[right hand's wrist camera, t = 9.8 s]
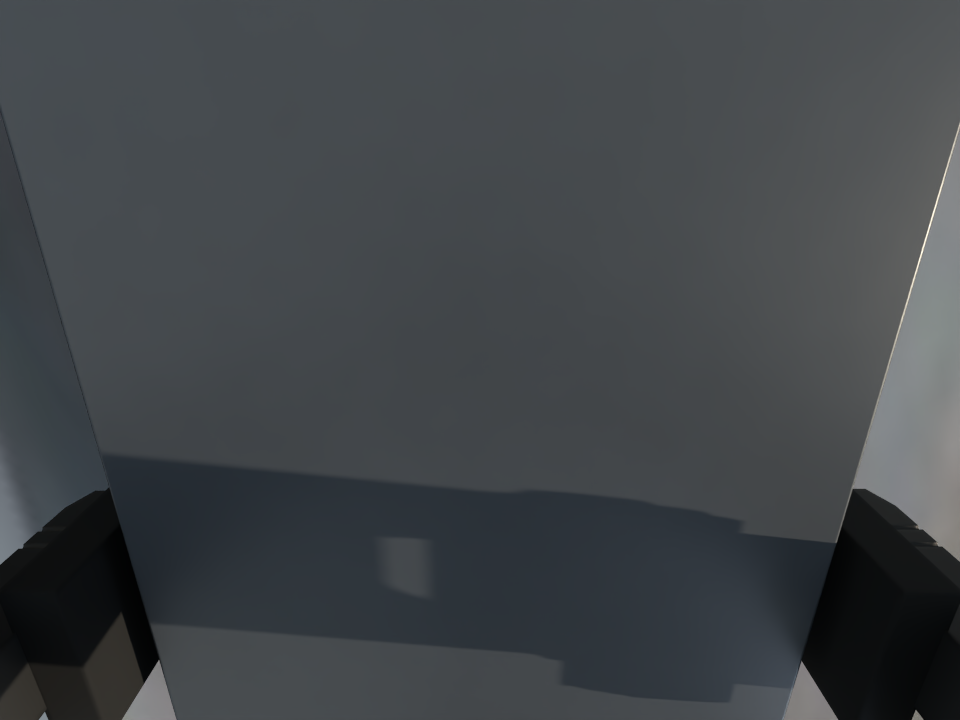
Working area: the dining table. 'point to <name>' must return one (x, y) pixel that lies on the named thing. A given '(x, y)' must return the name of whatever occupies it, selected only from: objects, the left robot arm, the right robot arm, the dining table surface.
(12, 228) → the dining table surface
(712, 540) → the wide beam
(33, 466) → the dining table surface
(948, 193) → the dining table surface
